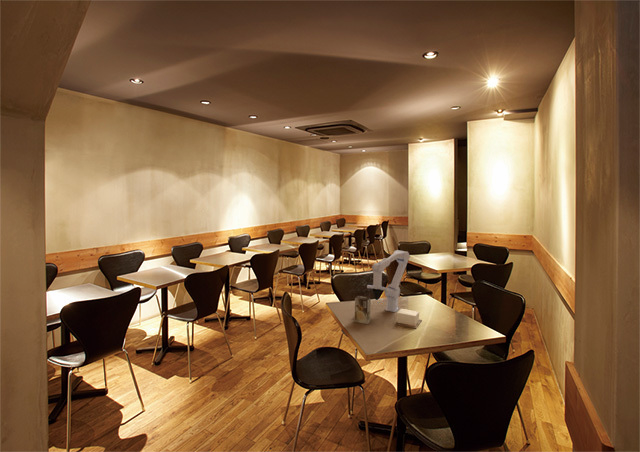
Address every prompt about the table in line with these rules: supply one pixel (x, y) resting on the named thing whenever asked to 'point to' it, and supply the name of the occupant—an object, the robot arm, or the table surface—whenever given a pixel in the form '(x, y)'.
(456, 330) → the table surface
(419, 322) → the board
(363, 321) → the coffee box
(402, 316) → the carton
